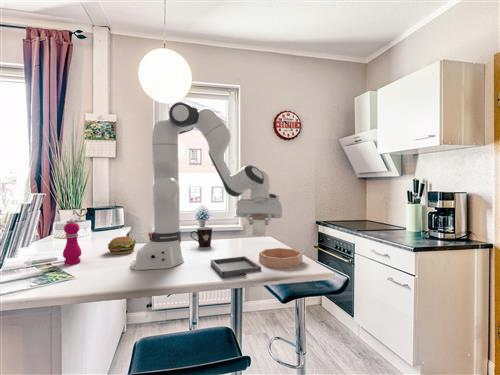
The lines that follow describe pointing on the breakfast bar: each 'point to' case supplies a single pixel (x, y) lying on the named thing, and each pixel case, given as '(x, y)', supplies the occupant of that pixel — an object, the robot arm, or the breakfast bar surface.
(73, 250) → the pepper mill
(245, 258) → the tray
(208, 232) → the coffee mug
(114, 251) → the food
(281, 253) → the bowl
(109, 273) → the breakfast bar surface
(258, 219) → the spice jar
